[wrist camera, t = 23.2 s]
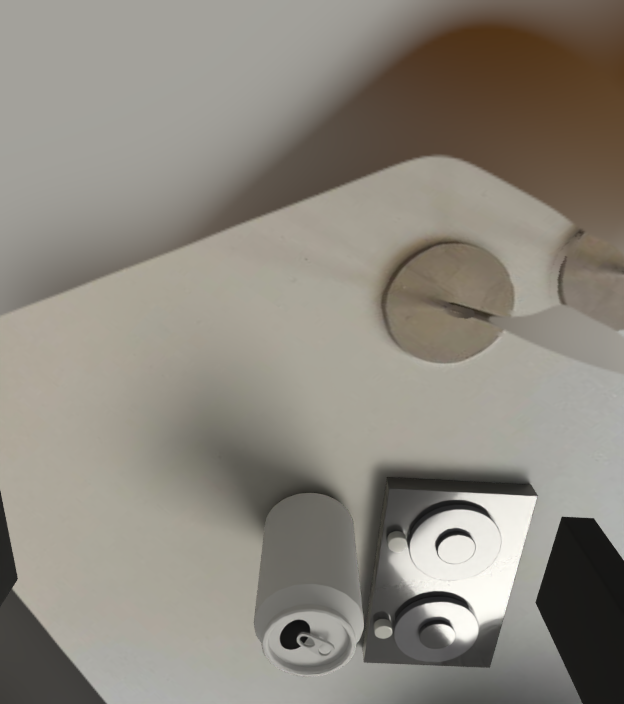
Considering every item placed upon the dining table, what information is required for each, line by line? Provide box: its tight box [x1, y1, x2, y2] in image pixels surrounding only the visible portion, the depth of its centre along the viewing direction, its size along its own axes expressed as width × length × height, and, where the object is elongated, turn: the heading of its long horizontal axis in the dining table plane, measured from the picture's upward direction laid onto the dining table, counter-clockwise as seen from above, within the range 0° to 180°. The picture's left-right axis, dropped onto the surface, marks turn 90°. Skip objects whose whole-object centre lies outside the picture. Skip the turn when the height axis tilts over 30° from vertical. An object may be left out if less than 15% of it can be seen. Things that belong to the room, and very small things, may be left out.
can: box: [254, 493, 364, 677], centre depth 41 cm, size 8×8×12 cm
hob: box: [362, 477, 538, 668], centre depth 47 cm, size 12×20×2 cm, turn 176°
